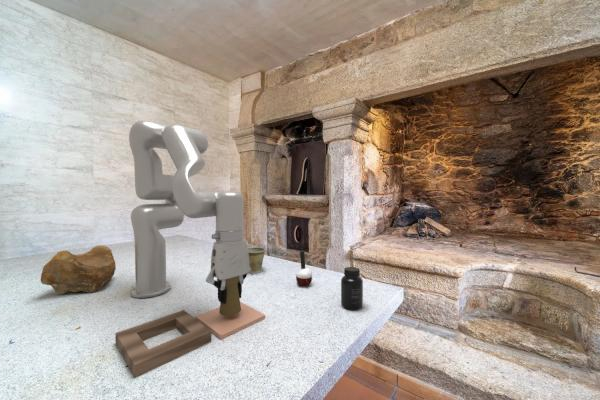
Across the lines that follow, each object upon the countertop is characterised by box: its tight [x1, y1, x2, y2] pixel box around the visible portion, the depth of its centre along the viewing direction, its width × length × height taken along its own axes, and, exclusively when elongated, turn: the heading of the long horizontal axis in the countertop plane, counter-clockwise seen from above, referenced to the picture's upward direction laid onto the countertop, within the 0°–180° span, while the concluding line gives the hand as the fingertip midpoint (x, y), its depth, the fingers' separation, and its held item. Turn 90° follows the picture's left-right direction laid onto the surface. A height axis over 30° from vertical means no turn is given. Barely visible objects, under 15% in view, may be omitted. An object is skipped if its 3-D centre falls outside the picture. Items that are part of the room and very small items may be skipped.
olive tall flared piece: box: [219, 276, 241, 316], centre depth 71 cm, size 6×6×11 cm
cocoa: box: [295, 250, 313, 288], centre depth 97 cm, size 10×6×12 cm, turn 168°
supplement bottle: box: [340, 266, 364, 311], centre depth 80 cm, size 7×7×12 cm
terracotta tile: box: [195, 301, 266, 340], centre depth 71 cm, size 14×14×1 cm
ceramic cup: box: [248, 246, 266, 275], centre depth 114 cm, size 13×10×10 cm
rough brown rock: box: [40, 245, 117, 295], centre depth 93 cm, size 23×17×15 cm
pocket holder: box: [115, 309, 212, 378], centre depth 60 cm, size 16×16×2 cm
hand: (230, 298), depth 71 cm, fingers closed on olive tall flared piece, 4 cm apart
